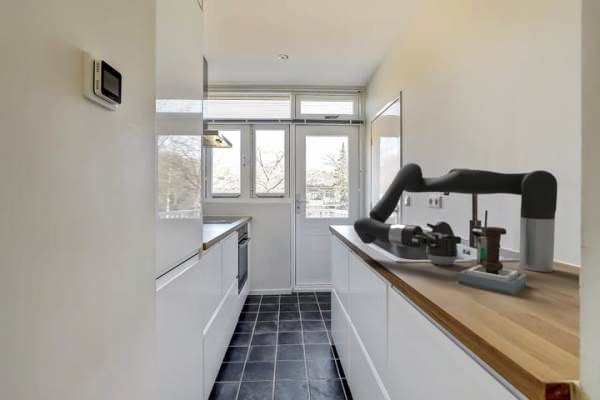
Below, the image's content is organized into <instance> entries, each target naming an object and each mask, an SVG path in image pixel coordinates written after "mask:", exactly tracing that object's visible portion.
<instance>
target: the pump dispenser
mask: <svg viewBox="0 0 600 400" xmlns="http://www.w3.org/2000/svg"><path fill="white" fill-rule="evenodd" d="M426 226H427V227H428V228H430V229H431V231H430V232H433V233H442V234H449V236H456V234H455V232H454V230H453V228H452V227H451V226H452V225H450V224H449V223H448V222H445V221H439V222H437V223H435V224H432V223H426ZM442 239H445V236H442ZM425 251H426V255H427V257H428V259H429V261H430V262H431V263H433V264H434V265H438V266H449V265H452V264H454V263H455V261H456V260H457V257H458V255H459V250H458V244H456V243H450V246H449V247H444V246H437V245H436V246H426V250H425Z"/></svg>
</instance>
